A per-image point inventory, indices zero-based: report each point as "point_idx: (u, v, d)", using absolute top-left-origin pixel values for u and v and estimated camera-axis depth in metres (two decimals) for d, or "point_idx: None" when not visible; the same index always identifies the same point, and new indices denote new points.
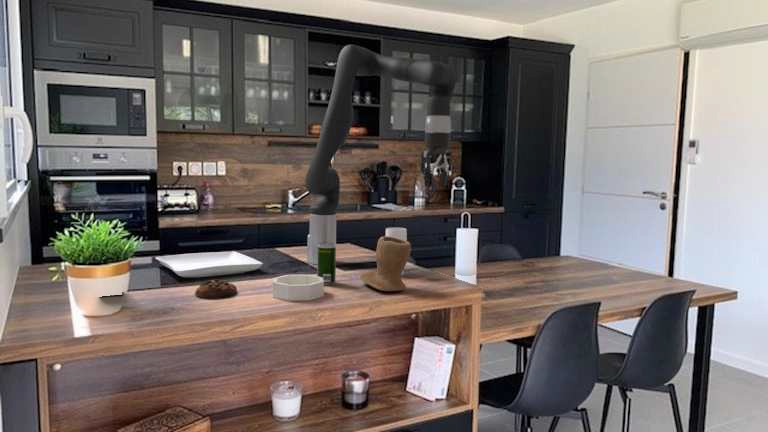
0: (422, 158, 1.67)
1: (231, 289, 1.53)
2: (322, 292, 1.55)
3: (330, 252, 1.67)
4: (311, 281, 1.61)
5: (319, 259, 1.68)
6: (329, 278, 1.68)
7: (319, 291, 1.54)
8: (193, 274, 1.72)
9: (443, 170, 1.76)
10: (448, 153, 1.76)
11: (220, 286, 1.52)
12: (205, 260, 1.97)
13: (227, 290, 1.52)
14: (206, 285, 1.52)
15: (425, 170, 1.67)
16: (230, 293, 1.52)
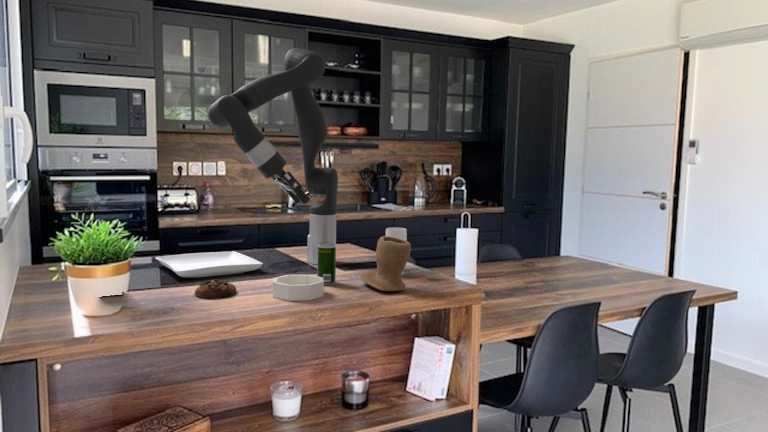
0: None
1: (230, 289, 1.53)
2: (322, 292, 1.55)
3: (330, 252, 1.67)
4: (311, 281, 1.61)
5: (319, 259, 1.68)
6: (330, 278, 1.68)
7: (319, 291, 1.54)
8: (193, 274, 1.72)
9: None
10: None
11: (219, 286, 1.52)
12: (204, 259, 1.97)
13: (226, 290, 1.52)
14: (205, 285, 1.52)
15: None
16: (229, 293, 1.52)
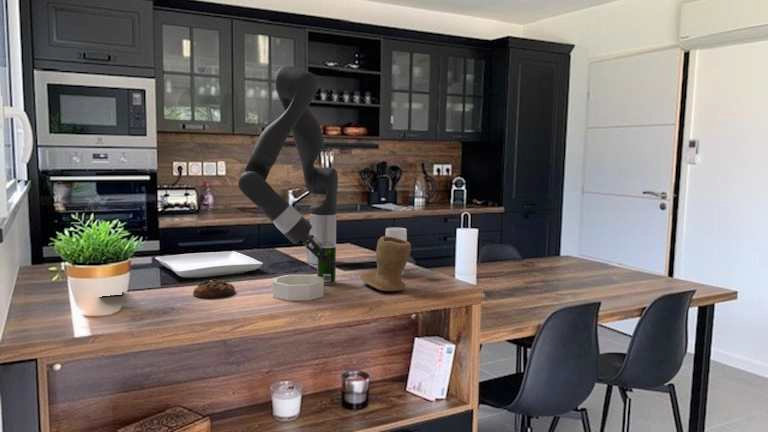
0: None
1: (229, 289, 1.53)
2: (322, 292, 1.55)
3: (330, 252, 1.67)
4: (311, 281, 1.61)
5: None
6: (329, 278, 1.68)
7: (319, 291, 1.54)
8: (193, 274, 1.72)
9: None
10: None
11: (218, 286, 1.52)
12: (204, 260, 1.97)
13: (225, 290, 1.52)
14: (204, 285, 1.52)
15: None
16: (228, 293, 1.52)
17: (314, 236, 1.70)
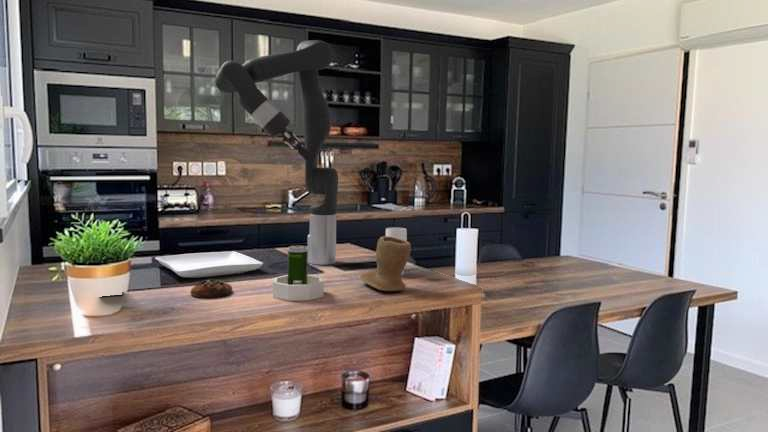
0: None
1: (226, 289, 1.54)
2: (322, 292, 1.55)
3: (300, 257, 1.53)
4: (311, 281, 1.61)
5: (289, 264, 1.54)
6: None
7: (319, 291, 1.54)
8: (193, 274, 1.72)
9: None
10: None
11: (215, 286, 1.52)
12: (204, 260, 1.97)
13: (222, 290, 1.52)
14: (201, 285, 1.52)
15: None
16: (225, 293, 1.53)
17: None
